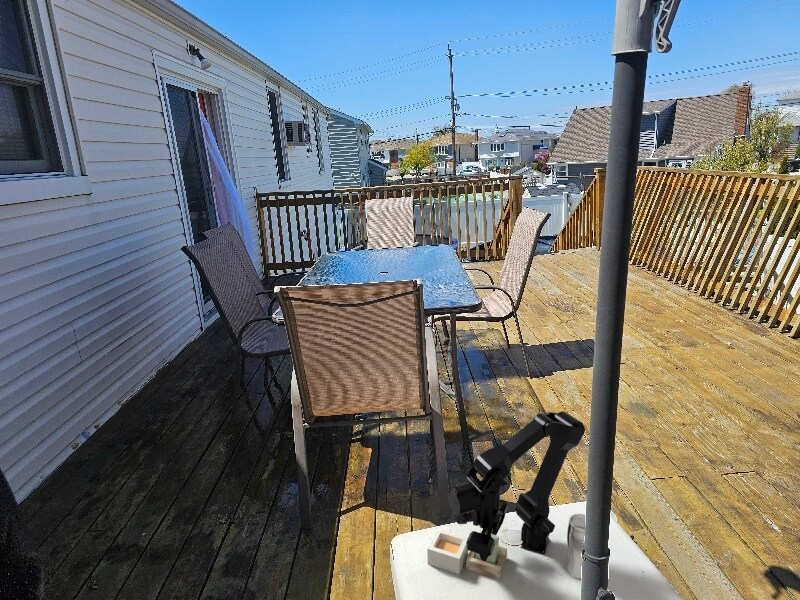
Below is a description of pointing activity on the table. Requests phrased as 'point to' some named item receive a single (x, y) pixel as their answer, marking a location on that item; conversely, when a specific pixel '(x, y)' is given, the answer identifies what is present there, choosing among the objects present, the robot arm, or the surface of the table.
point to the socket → (444, 557)
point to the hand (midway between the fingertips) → (487, 550)
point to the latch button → (448, 547)
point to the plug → (494, 555)
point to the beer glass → (575, 544)
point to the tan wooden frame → (487, 564)
